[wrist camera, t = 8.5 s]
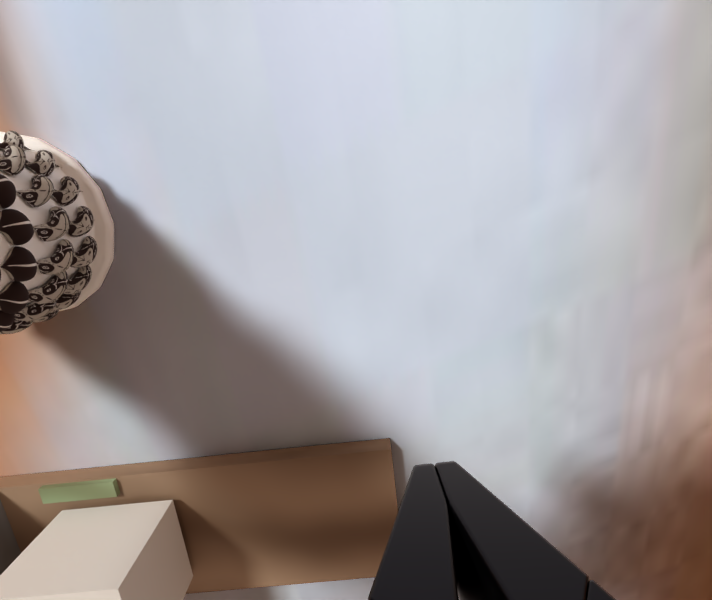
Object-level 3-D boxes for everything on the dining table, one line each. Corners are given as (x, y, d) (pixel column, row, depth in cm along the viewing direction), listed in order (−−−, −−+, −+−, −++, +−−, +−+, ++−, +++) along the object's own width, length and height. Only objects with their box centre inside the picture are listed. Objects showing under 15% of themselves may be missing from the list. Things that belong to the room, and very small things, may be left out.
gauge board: (403, 567, 24) (422, 714, 17) (9, 602, 25) (-123, 755, 18) (389, 438, 22) (403, 547, 15) (-41, 480, 23) (-212, 602, 16)
